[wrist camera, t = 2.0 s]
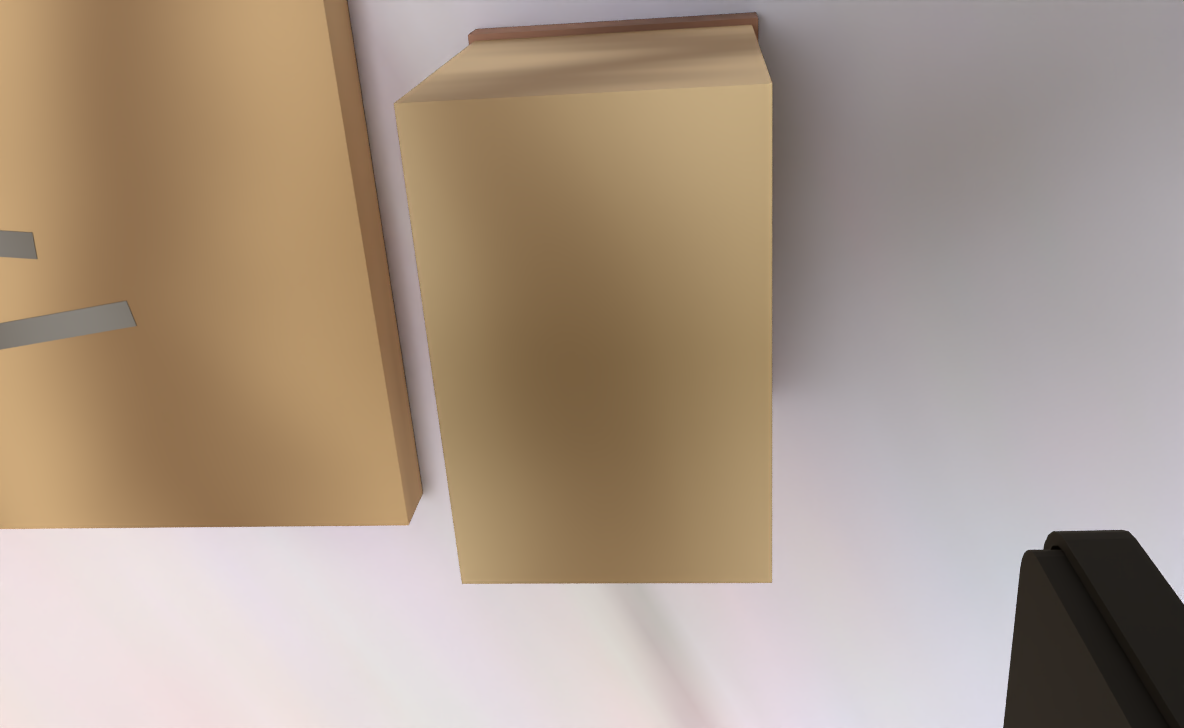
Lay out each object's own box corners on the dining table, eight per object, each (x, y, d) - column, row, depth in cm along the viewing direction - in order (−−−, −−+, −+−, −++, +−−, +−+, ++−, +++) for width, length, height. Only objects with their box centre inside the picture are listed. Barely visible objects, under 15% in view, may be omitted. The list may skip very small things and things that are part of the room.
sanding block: (756, 12, 18) (781, 74, 12) (757, 400, 21) (779, 588, 15) (476, 28, 18) (384, 95, 13) (517, 405, 21) (455, 589, 16)
